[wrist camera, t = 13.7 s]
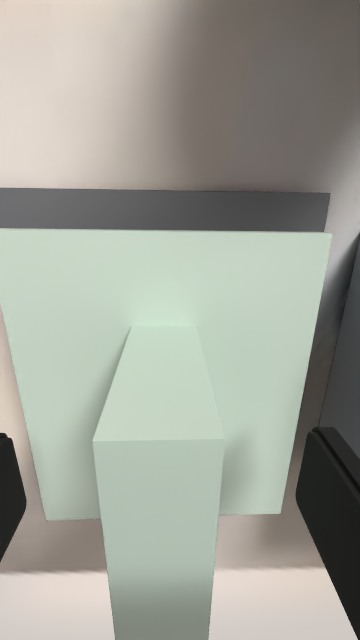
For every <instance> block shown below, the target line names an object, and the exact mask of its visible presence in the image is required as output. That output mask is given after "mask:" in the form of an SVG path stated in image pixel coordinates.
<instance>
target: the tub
mask: <svg viewBox="0 0 360 640" xmlns="http://www.w3.org/2000/svg"><path fill="white" fill-rule="evenodd" d="M319 427H333V428H335V429H336V430H337V431H338V432H339V433H340V435H341V436H342V437H343V439H344V440H345V441H346V442H347V444H348V445H349V446H350V447H351V449H352V450H353V451H354V452H355V454H356V455H357V456H358V457H359V459H360V239H359V243H358V248H357V253H356V257H355V262H354V266H353V271H352V276H351V280H350V285H349V289H348V294H347V299H346V303H345V308H344V312H343V317H342V321H341V326H340V331H339V335H338V340H337V344H336V349H335V354H334V358H333V363H332V367H331V372H330V377H329V381H328V386H327V390H326V395H325V400H324V404H323V409H322V413H321V418H320V423H319Z"/></svg>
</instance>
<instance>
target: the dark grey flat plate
mask: <svg viewBox="0 0 360 640" xmlns="http://www.w3.org/2000/svg"><path fill="white" fill-rule="evenodd" d="M330 194H331V193H298V192H234V191H171V190H108V189H44V188H0V228H16V229H103V230H189V231H276V232H324V229H325V223H326V217H327V211H328V206H329V200H330Z"/></svg>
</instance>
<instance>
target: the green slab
mask: <svg viewBox="0 0 360 640" xmlns="http://www.w3.org/2000/svg"><path fill="white" fill-rule="evenodd" d="M332 236H333V233H324V232H276V231H189V230H103V229H16V228H0V304H1V308H2V313H3V318H4V323H5V327H6V332H7V337H8V342H9V346H10V351H11V356H12V361H13V365H14V370H15V375H16V380H17V384H18V389H19V394H20V399H21V403H22V408H23V413H24V418H25V422H26V427H27V432H28V437H29V441H30V446H31V451H32V456H33V461H34V465H35V470H36V475H37V480H38V484H39V489H40V494H41V499H42V503H43V508H44V513H45V518H46V521H47V520H81V519H101V521H102V529H103V538H104V546H105V555H106V564H107V572H108V581H109V589H110V598H111V607H112V615H113V624H114V632H115V640H208V635H209V624H210V611H211V599H212V587H213V575H214V564H215V551H216V539H217V527H218V515H252V514H280V513H281V508H282V503H283V497H284V492H285V487H286V481H287V476H288V471H289V465H290V460H291V455H292V449H293V444H294V439H295V433H296V428H297V423H298V417H299V412H300V407H301V401H302V396H303V391H304V385H305V380H306V375H307V369H308V364H309V358H310V353H311V348H312V342H313V337H314V332H315V326H316V321H317V316H318V310H319V305H320V300H321V294H322V289H323V284H324V278H325V273H326V268H327V262H328V257H329V252H330V246H331V241H332Z"/></svg>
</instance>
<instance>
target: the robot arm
mask: <svg viewBox="0 0 360 640" xmlns="http://www.w3.org/2000/svg"><path fill="white" fill-rule="evenodd" d="M296 501H297V504H298V507H299V509H300V511H301V514H302V516H303V518H304V520H305V523H306V525H307V527H308V529H309V532H310V534H311V536H312V538H313V540H314V543H315V545H316V547H317V549H318V552H319V554H320V556H321V558H322V561H323V563H324V565H325V567H326V569H327V572H328V574H329V576H330V578H331V581H332V583H333V585H334V587H335V589H336V592H337V594H338V596H339V598H340V600H341V603H342V605H343V607H344V610H345V612H346V614H347V616H348V618H349V621H350V623H351V625H352V627H353V629H354V632H355V634H356V636H357V638H358V640H360V459H359V457H358V456H357V455H356V454H355V452H354V451H353V450H352V449H351V447H350V446H349V445H348V444H347V442H346V441H345V440H344V439H343V437H342V436H341V435H340V433H339V432H338V431H337V430H336V429H335V428H333V427H315V428H313V430H312V432H309V433H308V435H307V439H306V444H305V449H304V454H303V459H302V464H301V469H300V474H299V479H298V483H297V488H296ZM26 502H27V501H26V496H25V492H24V487H23V483H22V479H21V475H20V471H19V466H18V462H17V458H16V454H15V450H14V445H13V441H12V439H11V438H8V437H7V435H6V434H5V433H0V562H1V560H2V558H3V556H4V553H5V551H6V549H7V547H8V545H9V543H10V541H11V539H12V537H13V535H14V533H15V531H16V529H17V527H18V525H19V523H20V521H21V519H22V517H23V514H24V512H25V509H26Z"/></svg>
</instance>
